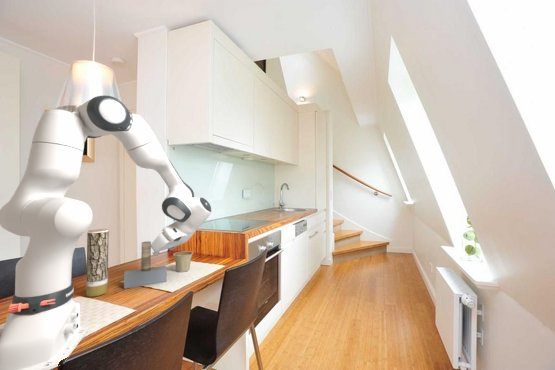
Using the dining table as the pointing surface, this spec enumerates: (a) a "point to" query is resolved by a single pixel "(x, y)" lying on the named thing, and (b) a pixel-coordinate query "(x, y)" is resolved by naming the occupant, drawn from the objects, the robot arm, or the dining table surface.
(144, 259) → the dowel
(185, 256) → the flower pot
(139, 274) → the grey rectangular block
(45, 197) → the robot arm
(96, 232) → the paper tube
